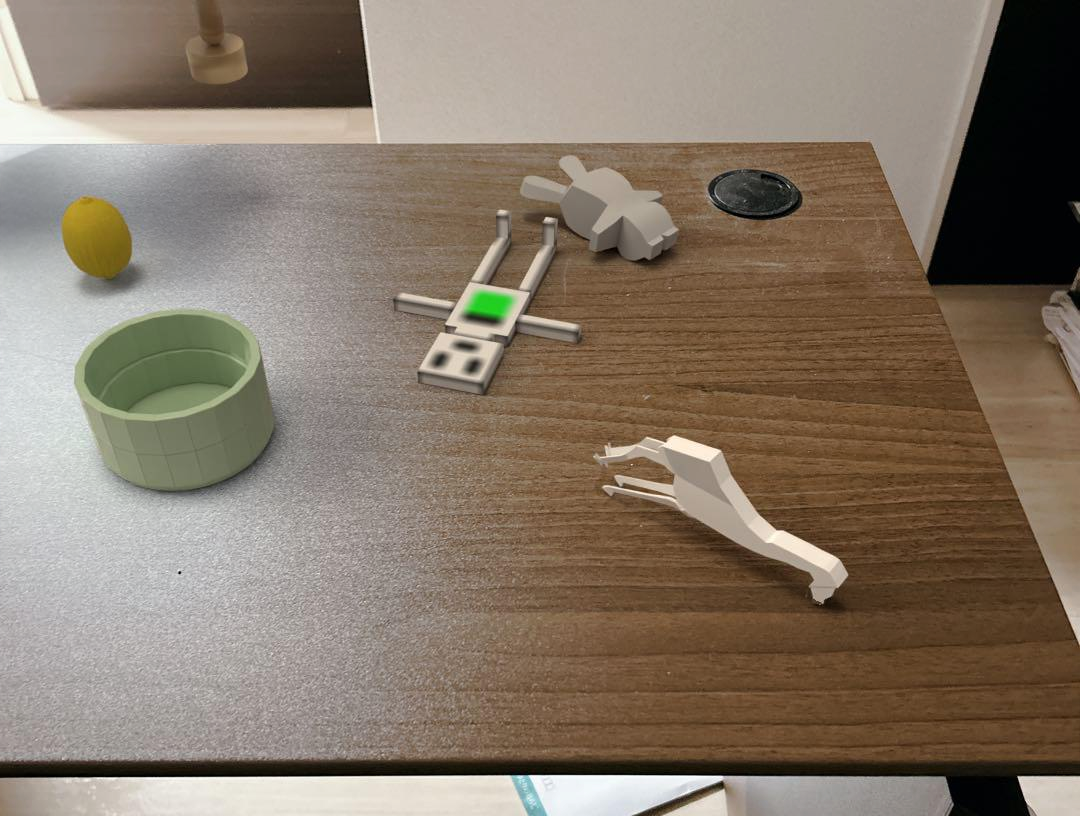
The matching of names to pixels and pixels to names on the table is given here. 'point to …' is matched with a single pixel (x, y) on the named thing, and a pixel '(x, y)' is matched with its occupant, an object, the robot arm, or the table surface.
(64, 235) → the lemon
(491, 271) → the robot figure
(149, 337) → the bowl
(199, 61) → the wooden tamper
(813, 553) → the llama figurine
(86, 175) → the table surface
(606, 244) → the bunny figurine
